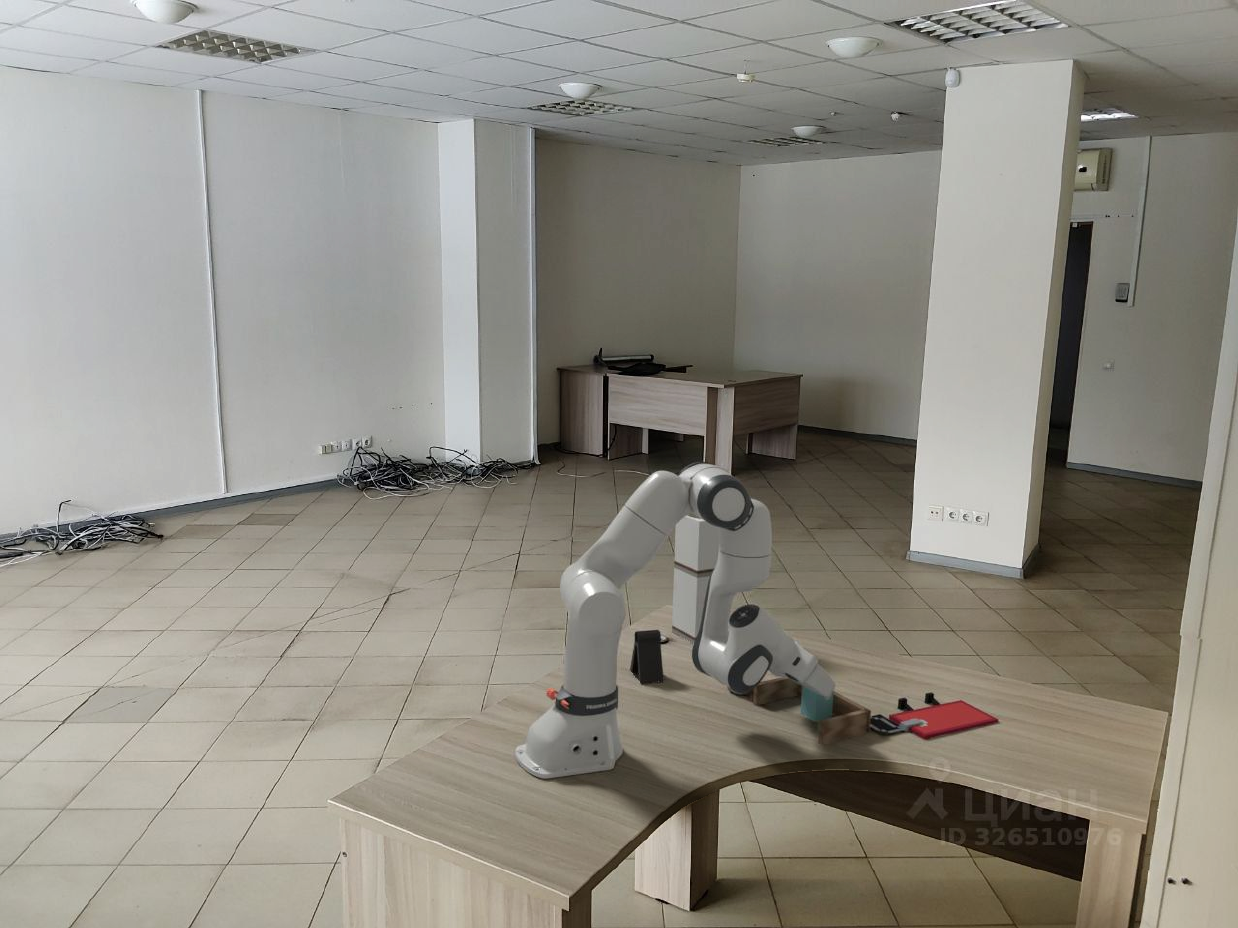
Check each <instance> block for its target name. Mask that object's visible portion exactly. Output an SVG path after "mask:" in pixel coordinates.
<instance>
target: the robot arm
mask: <svg viewBox="0 0 1238 928" xmlns="http://www.w3.org/2000/svg"><path fill="white" fill-rule="evenodd" d="M691 514H694V515H695V516H696V517H698V519H703V520H705V521H706V522H708V523H709V524H711V525H713V526H716V527H719V530H720V542H719V554H718V561H717V565H716V567H715V568H714V569H713V571H712V573H711V575H710V578H709V581H708V585H707V590H706V596H705V602H704V607H703V613H702V619H701V625H700V629H699V632H698V635H697V637H696V640H695V642H694V644H692V645H693V646H692V650H691V659H692V663H693V665H694V667H695V668H696V670H698V671H699V672H700V673H703V674H704V675H706V676H708V677H710V678H713V680H715V681H717V682H719V683H720V684H722V685H724V686H725V687H729V688H730V689H732V690H733V691H735V692H737V693H745V692H748V691H751V690H752V689H754V688H755V687H756V686H757V685H758V684H759V683H760V682H763V679H764V678H765V676H766V675H767V673H768V671H769V672H770V673H771V675H773V676H776V677H778V678H781V677H785V678H789V679H791V680H793V682H794V683H796V684H798V685H802V686H804V687H806V688H808V689H810V690H812V691H813V692H815V693H817V694H819V695H821V696H822V697H823V698H824V699H826V700H828V699H829V698H830V697H831V693H832V692H833V690H834V691H835V688H836V683H835V681H834V680H833V678H832V677H831V676H830V675H829V674H828V673H827V671H826V670H825V669H824V668H823V667H822V666H821V665H820V664H819V659H818V658H817V657H816V655H814V654H812V653H811V652H810V651H808V650H807V649H806V648H804V647H803V646H801V644H799V642H798V641H797V640H795V639H794V638H793V636H792V635H791V634H790V633H789V632H787V631H786V630H783V628H782V625H781V624H780V623H779V621H777V620H776V618H775V617H773V615H772V614H771V613H770V612H768V611H767V610H766V609H765V608H763V607H762V606H759V605H756V604H745V605H741V606H739V607H738V608H736V609H735V610H734V611H732V613H731V610H732V605H733V600H734V598H735V596H736V595H737V594H738V593H744V592H745V593H746V592H750V591H753V590H755V589H757V588H759V587H760V586H761V585H763V584H764V583H765V582H766V581H767V579H768V577H769V575H770V574H769V573H770V570H771V562H772V547H773V533H772V521H771V516H770V515H771V512H770V510H769V508H768V506H767V505H765V504H764V502H761V500H757V499H755V498H751V497H750V495H749V492H748V490H747V488H746V487H745V485H744V484H743V482H742V481H741V480H740V479H738V477H735V476H733V475H732V474H731V472H729V471H728V470H727V469H724V468H723V467H720V466H718V465H715V464H714V463H712V462H708V461H697V462H692V463H691V464H689V465H687V466H685V467H684V468H682V469H681V470H677V471H676V472H671V471H667V470H658V471H655V472H653V473H651V475H649V476H648V477H647V478H646V479H645V480H644V481H643V482H642V483H641V484H640V485H639V486H638V488H637V489H636V490H635V491H634V492H633V493H632V495H630V496H629V499H628V500H627V501H626V502H625V504H623V507H621V509H620V510H619V512H618V513H617V515H616V516H615V517H614V519H613V520H612V521H611V522H610V524H609V526H608V527H607V529H606V530H605V532H603V534H602V535H601V536H600V537H599V538H598V540H597V541H595V543H594V544H593V545H591V547H590V548H589V549H588V550H586V551H585V552H584V554H582V555H581V556H580V557H579V559H577V561H576V562H574V563H572V564H570V565H569V566H568V567H567V568H565V570H564V571H563V573H562V575H561V577H560V583H559V584H560V585H559V593H560V598H561V600H562V602H563V604H564V606H565V607H566V611H567V614H568V616H567V617H568V627H567V628H568V631H567V637H566V643H565V647H564V649H563V674H562V676H563V677H562V678H563V680H562V681H563V683H562V684H561V687H560V689H559V692H558V690H556V689H555V688H553V687H549V688H548V689H547V690H546V693H545V694H546V696H547V697H548V698H549V699H550V700H551V701H554V700H555V702H554V705H552V706H551V707H550V708H549V709H548V710H547V711H545V713H544V714H542V715H541V716H540V717H539V718H538V719H537V720H536V721H534V722H533V723H532V724H531V725H530V726H529V729H528V731H527V736H526V742H525V743H524V744H521V745H518V746H517V747H516V749H515V753H514V757H515V760H516V762H517V763H518V764H519V765H520V766H521V767H522V768H523V769H524V770H525V771H527V772H528V773H529V774H531V775H533V776H535V777H537V778H541V779H552V778H553V779H554V778H560V777H568V776H574V775H580V774H581V775H582V774H588V773H595V772H602V771H603V772H604V771H610V770H612V769H614V768H615V765H616V762H617V760H618V759H619V758H620V757H621V756H622V754H623V751H624V750H623V746H622V743H621V739H620V734H619V726H618V716H617V711H618V708H619V686H618V685H617V676H618V675H617V674H618V673H617V669H618V667H617V666H618V650H619V644H620V639H621V634H622V628H623V624H624V622H625V621H626V612H627V611H626V603H625V598H624V595H623V593H622V591H621V588H622V587H623V586H624V584H626V583H627V582H628V581H629V580H630V579H631V578H632V577H634V576H635V574H637V573H638V572H640V571H642V570H644V569H645V568H647V567H648V566H649V564H650V563H651V561H652V560H653V559H654V558H655V556H656V555H657V553H658V551H659V550H660V549H661V547H662V546H663V545H664V543H665V542H666V541H667V540H668V537H669V536H670V535H671V533H672V532H673V530H674V529H675V528H676V524H677V523H678V522H679V521H680V520H681V519H682V518H684V517H685V516H689V515H691Z"/></svg>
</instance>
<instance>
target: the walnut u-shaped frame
mask: <svg viewBox="0 0 1238 928" xmlns="http://www.w3.org/2000/svg"><path fill="white" fill-rule="evenodd" d="M796 696H797V697H798V696H799V697H800V698H802V685H798V684H796V683H794V682H793V680H791V679H789V678H785V677H782V676H781V677H778V678H773V679H769V680H768V679H767V680H764V681H763V680H762V681H761V682H760V683H759V684H758V685H757V686H756V687H755V688H754V691H753V697H752V700H753V701H752V704H753V705H755V706H760V705H764V704H769V703H772V701H773V702H777V701H780V700H784V699H788V698H793V697H796ZM776 700H777V701H776ZM871 714H872V710H871V709H869V708H866V707H865V706H863V705H861V704H859V703H858V702H856V701H854V700H851V699H850V698H848V697H846V696H844V695H842V694H841V693H839V692H836V691H835V690H834V691H833V706H832V718H829V719H825V720H821V721H818V733H817V735H818V736H817V744H819V745H821V746H824V745H826V744H829V743H834V742H836V741H837V742H838V741H840V740H845V739H849V738H853V737H855V736H858V735H863V734H867V733H869V732H870V730H871V729H870V728H871V727H870V718H871V716H872V715H871ZM834 715H835V716H834Z"/></svg>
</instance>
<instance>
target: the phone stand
mask: <svg viewBox="0 0 1238 928" xmlns="http://www.w3.org/2000/svg"><path fill="white" fill-rule="evenodd" d="M661 641H662V635H661V631H660V630H659V629H651V630H650V629H649V630H639V631H635V632H634V644H633V649H632V653H631V654H632V655H631V661H630V667H629V672H630V671H631V672H632V673H633V674H632V673H631V672H630V673H631V674H632V676H633V677H634V676H635V677H634V678H635V679H636V678H637V679H638V680H639V681H640V683H641V684H640V683H639V684H640V685H643V684H642V683H646V684H653V683H652V682H656V683H659V682H658V681H665V680H664V669H663V658H662V647H661V646H662V644H661ZM637 679H636V680H637ZM638 680H637V681H638Z"/></svg>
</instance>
